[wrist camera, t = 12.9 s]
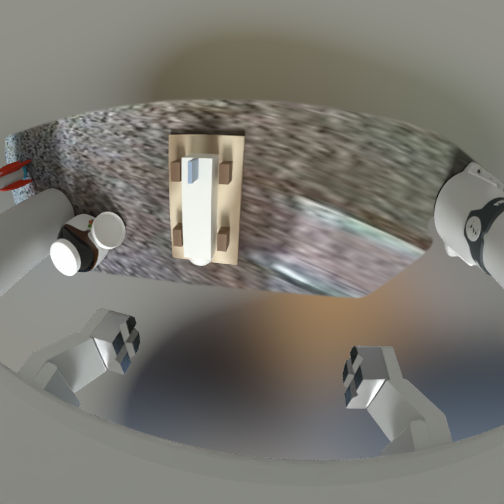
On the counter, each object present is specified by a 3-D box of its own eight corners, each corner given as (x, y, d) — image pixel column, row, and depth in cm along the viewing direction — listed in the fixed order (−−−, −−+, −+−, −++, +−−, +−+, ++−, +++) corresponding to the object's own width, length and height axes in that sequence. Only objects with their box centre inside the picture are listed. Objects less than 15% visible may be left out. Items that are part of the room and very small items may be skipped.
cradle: (245, 136, 40) (241, 137, 37) (238, 262, 50) (234, 273, 47) (171, 134, 41) (161, 136, 37) (174, 254, 51) (167, 265, 48)
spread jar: (75, 232, 52) (42, 257, 41) (89, 190, 47) (51, 211, 36) (116, 264, 54) (86, 295, 44) (134, 224, 49) (102, 252, 39)
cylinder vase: (71, 249, 54) (0, 315, 32) (37, 222, 52) (-36, 275, 30) (82, 204, 48) (-7, 265, 26) (45, 177, 46) (-43, 223, 24)
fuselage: (219, 154, 41) (206, 162, 34) (216, 258, 49) (206, 282, 43) (191, 153, 41) (174, 161, 34) (192, 256, 50) (178, 278, 43)
